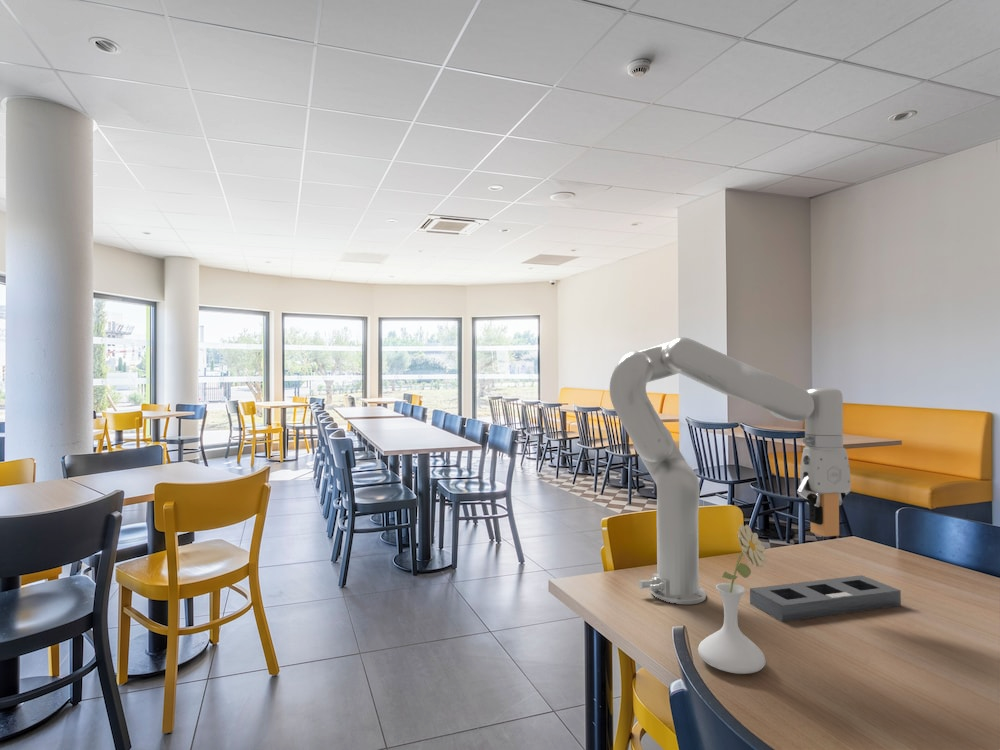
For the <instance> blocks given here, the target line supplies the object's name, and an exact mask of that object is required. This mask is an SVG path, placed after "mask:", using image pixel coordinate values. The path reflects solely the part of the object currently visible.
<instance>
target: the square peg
mask: <svg viewBox="0 0 1000 750" xmlns="http://www.w3.org/2000/svg"><path fill="white" fill-rule="evenodd" d="M813 497H814V498H815V494H814V496H813ZM839 506H840V505H839V493H832V494H822V497H821V504H820V507H822V517H823V524H821V525H819V524H816V523H813V522H810V521H809V523H810V533H812V534H815V535H818V536H821V537H824V538H826V537H827V538H828V537H837V536H838V537H839V536H840V523H839Z"/></svg>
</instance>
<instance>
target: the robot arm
mask: <svg viewBox="0 0 1000 750" xmlns="http://www.w3.org/2000/svg"><path fill="white" fill-rule="evenodd" d="M677 374H680V375H682V376H685V377H687V378H689V379H691V380H693V381H695V382H697V383H700V384H702V385H704V386H706V387H707V388H710V389H713V390H715V391H717V392H718V393H721V394H723V395H725V396H729V397H731V398H736V399H740V400H743V401H745V402H748V403H751V404H753V405H756V406H758V407H761V408H763V409H765V410H767V411H768V413H770V414H771V415H772V416H773V417H775V418H777V419H781V420H785V421H789V422H793V423H794V422H796V423H797V422H802V421H804V437H803V439H802V442H803V444H804V447H803V449H802V455H801V460H800V473H799V477H800V482H799V483H800V485H799V487H798V489H797V490H796V494H797V495H799V496H800V497H801V498H802V499H804V500H805V501H806V505H809V511H808V512H809V515H808V516H809V523H810V522H813V523H816V524H819V525H821V524H823V517H822V507H820V504H821V497H822V494H832V493H839V524H840V523H841V522H840V521H841V519H840V517H841V515H840V509H841V508H840V507H841V505H842V504H843V500H844V499H845V497H846V496H847V495H848V494H849V493H850V492H851V491H852V488H851V485H852V484H851V482H852V481H851V469H850V468H851V467H850V462H849V456H848V453H847V449H846V448H845V447H844V415H843V414H844V413H843V412H844V410H843V409H844V408H843V407H844V406H843V404H844V403H843V393H842V391H841V390H840V389H838V388H831V387H829V388H828V387H827V388H825V387H821V388H820V387H818V388H817V387H814V388H809V389H806V388H805V389H804V388H803V387H800V386H798V385H796V384H794V383H792V382H789V381H787V380H784V379H782V378H780V377H778V376H776V375H773V374H771V373H768V372H766V371H764V370H761V369H758V368H757V367H754V366H752V365H750V364H747V363H745V362H743V361H741V360H738V359H736V358H733V357H731V356H729V355H728V354H727V355H726V354H725V353H722V352H721V351H718V350H716V349H714V348H712V347H709V346H707V345H705V344H703V343H701V342H698V341H696V340H693V339H691V338H688V337H686V336H685V337H682V336H680V337H676V338H674V339H672V340H670V341H667V342H665V343H662V344H659V345H656V346H652V347H649V348H646V349H641V350H639V351H637V350H633V351H632V350H631V351H629V352H628V353H627V352H626V354H624V355H623V356H622V357H621V358H620V360H619V361H618V362H617V364H616V366H615V367H614V370H613V372H612V374H611V377H610V381H609V396H610V397H609V398H610V401H611V405H612V407H613V409H614V411H615V413H616V415H617V416H618V418H619V421H620V422H621V424H622V426H623V428H624V430H625V432H626V433H627V436H629V438H630V440H631V442H632V446H633V448H634V450H635V452H636V453H637V454H638V456H639V458H640V459H641V461H642V463H643V465H644V466H645V467H646V469H647V471H648V472H649V474H650V476H651V478H652V480H653V481H654V483H655V485H656V563H657V564H656V565H657V566H656V567H657V568H656V572H655V573H652V577H650V579H640V580H638V588H639V589H641V590H643V589H649V591H650V593H651V595H652V594H653V595H654V596H655V597H654V596H653V595H652V596H653V597H654V598H656V597H657V598H656V599H658V598H659V599H658V600H660V599H661V600H660V601H662V600H664V601H663V602H665V601H666V603H669V602H670V604H674V603H676V605H696V604H700V603H702V602H704V601H705V600H706V599H707V598H706V597H707V594H706V593H707V592H706V590H705V589H704V588H702V587H701V586H700V583H699V581H700V574H699V573H700V572H699V570H700V569H699V568H700V566H699V564H700V563H699V560H700V559H699V555H700V554H699V548H700V547H699V509H700V507H699V506H700V492H701V489H700V482H699V477H698V475H697V474H696V472H695V470H694V469H693V468H692V467H691V466H690V465H689V463H688V462H687V461H686V460H685V458H684V456H683V454H682V452H681V451H680V449H679V447H678V445H677V443H676V442H675V440H674V439H673V436H672V433H671V432H670V430H669V429H668V428H667V427H666V425H664V422H663V421H662V420H661V418H660V416H659V414H658V413H657V411H656V409H655V408H654V405H653V404H652V402H651V400H650V398H649V397H648V393H647V383H651V382H655V381H658V380H661V379H664V378H669V377H671V376H675V375H677ZM814 494H815V498H814V497H813V496H814Z"/></svg>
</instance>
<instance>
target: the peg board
mask: <svg viewBox="0 0 1000 750" xmlns="http://www.w3.org/2000/svg"><path fill="white" fill-rule="evenodd" d="M901 592H902V591H901V589H897V588H895V587H893V586H890V585H887V584H885V583H883V582H880V581H878V580H875V579H872V578H870V577H867V576H865V575H861V574H860V575H853V576H844V577H838V578H837V577H836V578H828V579H820V580H811V581H810V580H809V581H802V582H793V583H785V584H784V583H783V584H777V585H769V586H768V585H766V586H760V587H750V588H749V604H750V605H752V606H753V607H755V608H757V609H759V610H760V611H762V612H764V613H766V614H767V615H769V616H771V617H773V618H775V619H776V620H778V621H779V622H782V623H783V622H784V623H785V622H792V621H799V620H807V619H813V618H814V619H815V618H821V617H829V616H835V615H836V616H837V615H842V614H843V615H844V614H851V613H858V612H864V611H865V612H866V611H873V610H879V609H880V610H881V609H887V608H894V607H901V606H902V604H901V602H902V601H901V600H902V597H901Z"/></svg>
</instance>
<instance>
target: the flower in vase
mask: <svg viewBox="0 0 1000 750" xmlns="http://www.w3.org/2000/svg"><path fill="white" fill-rule="evenodd" d="M737 535H738V536H737V539H738V543H739V546H740V548H741V552H740V554H739V557H738V559H737V561H736V564H735V565H736V566H735V568H734V572H733V574H731V573H729V572H727V571H726V570H725V571H724V573H723V574H722V575H721V577H722V578H725V579H728V580H731V582H730V583H729V582H721V583H718V584H716V585H715V588H716V590H717V591H718V592H719V595H720V597H721V600H722V604H723V616H724V617H723V625H722V626H721V628H720V629H718V630H717V631H715V632H713V633H711V634H710V635H707V636H706V637H705V638H704V639H702V641H701V642H699V645H698V648H697V652H698V655H699V657H700V658H701V659H702V661H703V662H705V663H706V664H708V665H709V666H711V667H713V668H715V669H718V670H720V671H723V672H727V673H732V674H739V675H740V674H741V675H745V674H753V673H757V672H760V671H761V670H762V669H763V668H764V667H765V666H766V664H767V660H766V657H765V654H764V653H763V651H762V650H761V649H760V648H759V647H758V645H757V644H755V642H753V641H752V640H751V639H750V638H748V637H747V635H745V634H744V633H743V632H742V631H741V630H740V627H739V622H738V611H739V604H740V600H741V599H742V596H743V595H744V594H745V593H746V588H745V587H744V586H742V585H739V584H736V583H735V580H736V579H737V578H738V576H736V575H737V573H738V574H739V575H740V576H741V577H742V578H744V579H745V578H748V577H750V576H751V573H752V571H751V568H750V567H749V566H748V565H747V564H746V563H744V562H740V561H741V559H742V556H745V558H746V559H747V561H748V562H749V564H750V565H752V566H755V567H756V568H760V569H761V568H762V569H763V568H765V567H764V566H765V565H764V563H767V561H768V560H767V559H766V557H767V556H766V554H765V553H764V552H765V551H766V548H765V546H764V545H762V541H761V540H760V539H759V535H758V533H757V532H752V529H751V527H750V526H749V525H748V524H745V525H743V524H742V523H740V525H739V526H738V530H737Z"/></svg>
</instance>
